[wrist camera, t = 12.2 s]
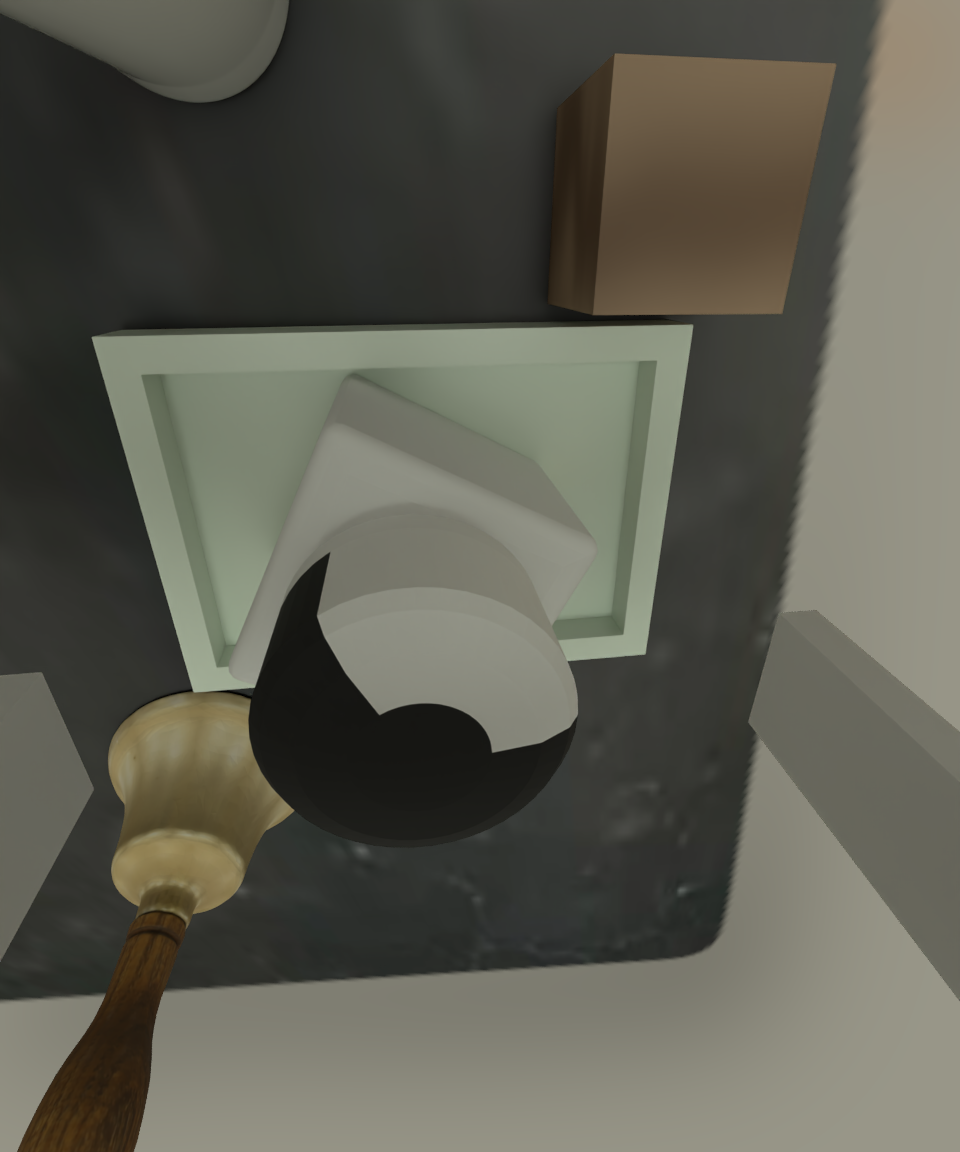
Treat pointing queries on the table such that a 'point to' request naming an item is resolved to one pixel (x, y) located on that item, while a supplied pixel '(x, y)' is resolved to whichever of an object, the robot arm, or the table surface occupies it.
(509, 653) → the medicine bottle
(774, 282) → the walnut block
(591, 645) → the tray
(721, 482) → the table surface
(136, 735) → the hand bell
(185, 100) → the drinking glass
